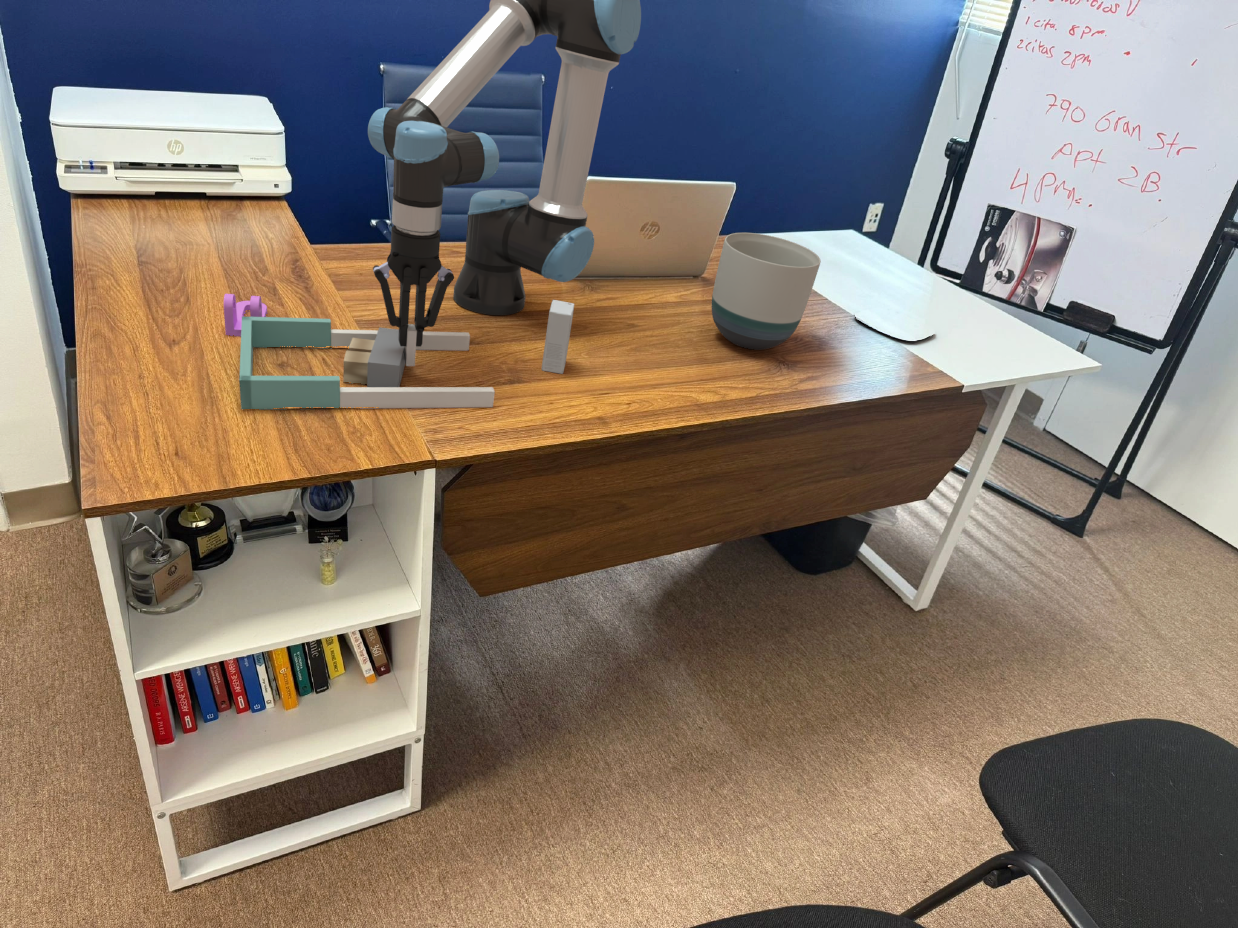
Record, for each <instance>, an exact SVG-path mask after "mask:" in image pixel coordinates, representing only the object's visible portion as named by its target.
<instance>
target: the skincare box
mask: <svg viewBox="0 0 1238 928" xmlns="http://www.w3.org/2000/svg"><path fill="white" fill-rule="evenodd" d="M551 301H552V302H551V303H550V304H551V305H550V308H549V312H548V319H547V326H546V335H545V341H544V347H543V348H544V349H543V355H542V356H543V357H542V363H541V371H543V372H550V373H554V374H560V375H561V374H562V375H563V374H564V371H565V367H566V362H567V356H568V350H569V349H568V348H569V343H570V336H571V330H572V323H573V316H574V309H575V303H572V302H567V301H563V300H557V299H552V300H551Z"/></svg>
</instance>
